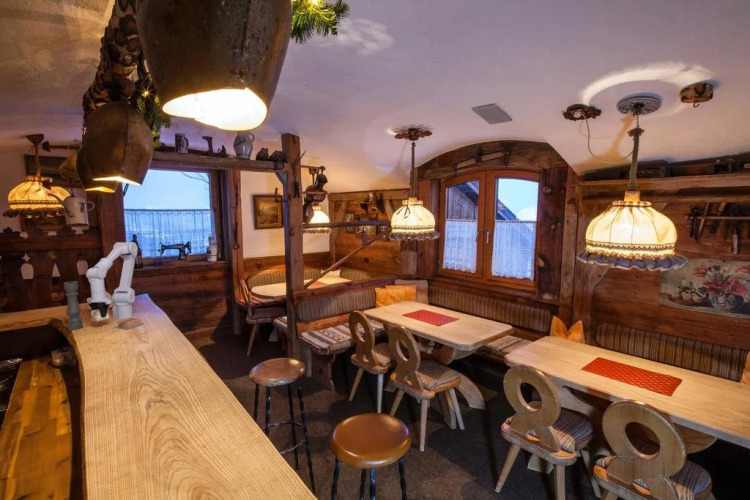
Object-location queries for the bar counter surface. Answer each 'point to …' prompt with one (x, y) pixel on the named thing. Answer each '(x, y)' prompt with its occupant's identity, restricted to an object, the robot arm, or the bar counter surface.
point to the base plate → (128, 328)
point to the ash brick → (98, 315)
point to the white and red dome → (107, 298)
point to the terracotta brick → (128, 323)
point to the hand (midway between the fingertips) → (100, 316)
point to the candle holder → (73, 306)
